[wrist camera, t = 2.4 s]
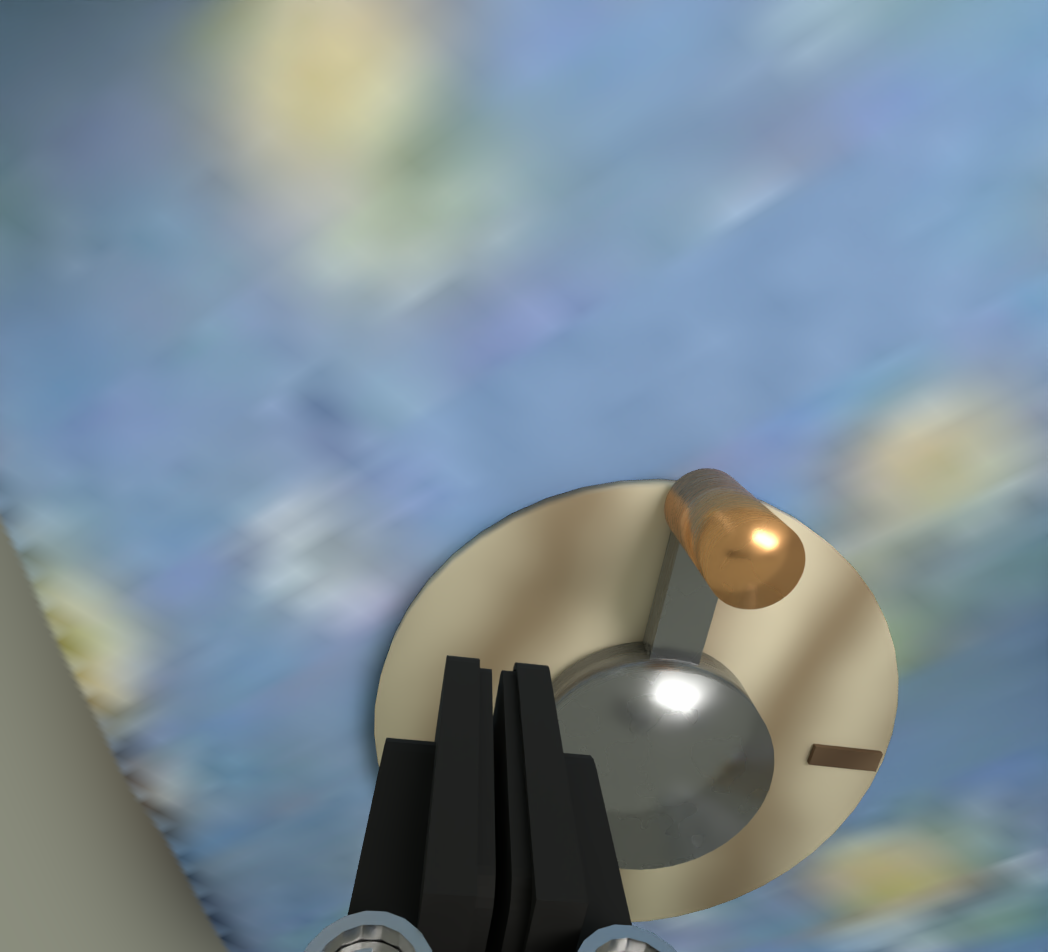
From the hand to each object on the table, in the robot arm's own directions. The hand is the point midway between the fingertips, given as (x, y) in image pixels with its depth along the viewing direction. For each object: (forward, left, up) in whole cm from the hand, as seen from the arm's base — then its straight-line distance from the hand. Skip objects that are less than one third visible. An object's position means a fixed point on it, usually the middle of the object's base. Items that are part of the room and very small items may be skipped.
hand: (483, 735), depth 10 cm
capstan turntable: (-8, +7, -13) cm, 17 cm away
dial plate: (-8, +11, -15) cm, 20 cm away
